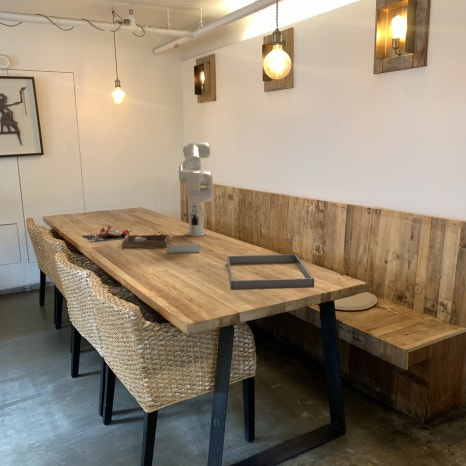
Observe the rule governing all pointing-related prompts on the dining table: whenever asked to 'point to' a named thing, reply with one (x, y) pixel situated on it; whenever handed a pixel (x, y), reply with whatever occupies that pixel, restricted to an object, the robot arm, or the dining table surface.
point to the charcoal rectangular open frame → (269, 283)
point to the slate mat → (183, 249)
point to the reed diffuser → (144, 238)
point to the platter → (108, 235)
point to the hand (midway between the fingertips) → (194, 223)
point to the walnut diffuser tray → (146, 242)
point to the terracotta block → (191, 220)
